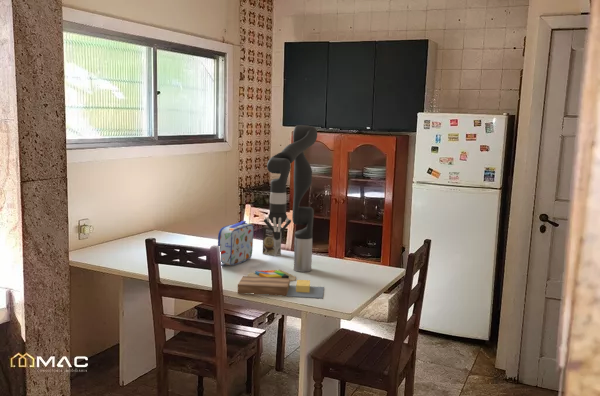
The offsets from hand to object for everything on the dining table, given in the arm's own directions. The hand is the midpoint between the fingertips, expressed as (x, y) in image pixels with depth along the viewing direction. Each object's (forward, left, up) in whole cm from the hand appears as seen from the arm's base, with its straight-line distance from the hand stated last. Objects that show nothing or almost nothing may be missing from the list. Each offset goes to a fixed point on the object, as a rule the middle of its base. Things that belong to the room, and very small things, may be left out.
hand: (277, 239), depth 253 cm
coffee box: (-65, -10, -23) cm, 70 cm away
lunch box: (-44, -27, -23) cm, 57 cm away
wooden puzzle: (-16, -4, -24) cm, 29 cm away
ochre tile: (+1, +13, -21) cm, 25 cm away
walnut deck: (+4, -5, -23) cm, 24 cm away
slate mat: (+4, +14, -23) cm, 27 cm away
